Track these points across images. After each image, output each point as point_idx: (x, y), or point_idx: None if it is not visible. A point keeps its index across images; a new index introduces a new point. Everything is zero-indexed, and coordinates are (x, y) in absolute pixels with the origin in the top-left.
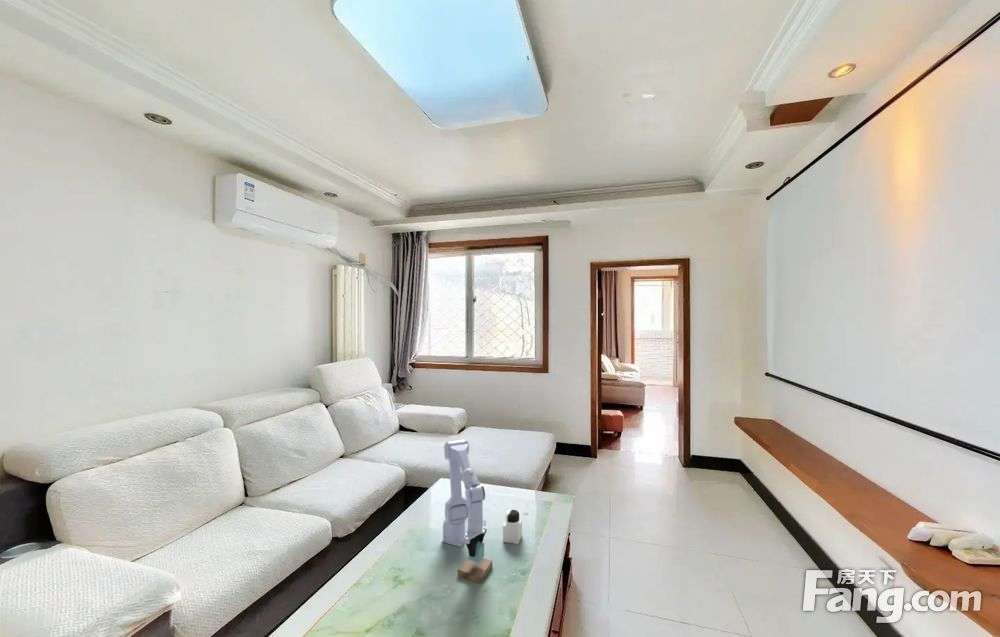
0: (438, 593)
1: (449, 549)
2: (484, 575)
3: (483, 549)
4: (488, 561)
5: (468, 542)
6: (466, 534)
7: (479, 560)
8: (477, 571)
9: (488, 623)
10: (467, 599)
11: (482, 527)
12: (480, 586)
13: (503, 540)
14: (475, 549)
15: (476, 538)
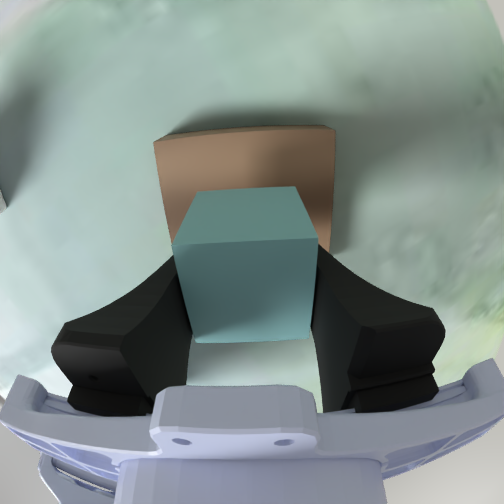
0: (427, 268)
1: None
2: (281, 127)
3: (200, 216)
4: (173, 160)
5: (500, 374)
6: (422, 464)
7: (286, 191)
8: (300, 173)
9: (490, 35)
10: (437, 146)
11: (184, 500)
12: (346, 119)
13: (2, 207)
14: (336, 271)
15: (182, 344)
